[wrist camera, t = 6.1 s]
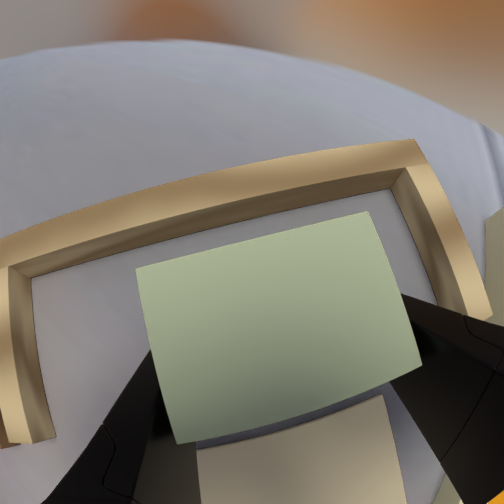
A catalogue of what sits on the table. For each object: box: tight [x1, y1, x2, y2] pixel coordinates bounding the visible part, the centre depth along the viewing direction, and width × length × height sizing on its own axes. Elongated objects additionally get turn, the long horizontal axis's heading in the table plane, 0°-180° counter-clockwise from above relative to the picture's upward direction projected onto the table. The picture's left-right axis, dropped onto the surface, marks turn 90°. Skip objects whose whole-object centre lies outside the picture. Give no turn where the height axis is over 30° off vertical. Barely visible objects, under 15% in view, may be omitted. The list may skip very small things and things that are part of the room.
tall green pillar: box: [136, 211, 422, 444], centre depth 11 cm, size 4×5×10 cm
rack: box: [0, 139, 493, 444], centre depth 15 cm, size 12×38×2 cm, turn 105°
